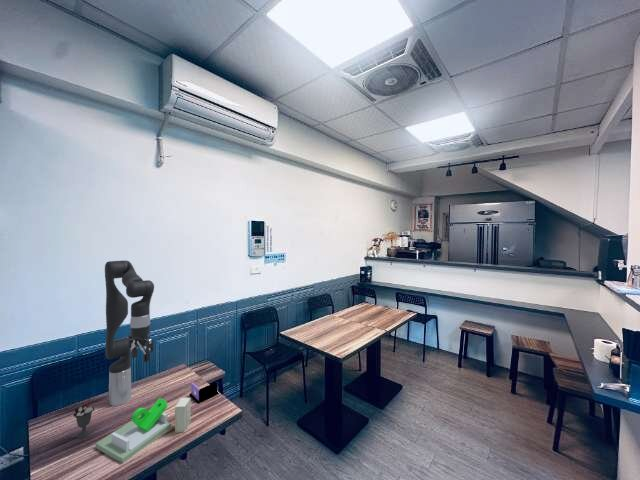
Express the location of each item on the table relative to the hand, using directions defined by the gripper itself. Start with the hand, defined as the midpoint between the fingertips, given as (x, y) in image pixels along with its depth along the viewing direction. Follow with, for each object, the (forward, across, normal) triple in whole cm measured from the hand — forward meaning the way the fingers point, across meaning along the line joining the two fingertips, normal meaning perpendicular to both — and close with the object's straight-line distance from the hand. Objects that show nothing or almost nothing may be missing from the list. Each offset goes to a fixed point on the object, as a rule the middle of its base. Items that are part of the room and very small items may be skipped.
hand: (140, 359), depth 118 cm
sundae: (+30, -16, -14) cm, 37 cm away
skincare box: (+30, +20, +6) cm, 37 cm away
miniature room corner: (+31, +9, +28) cm, 43 cm away
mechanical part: (+25, +8, +2) cm, 26 cm away
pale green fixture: (+30, +6, -6) cm, 31 cm away
